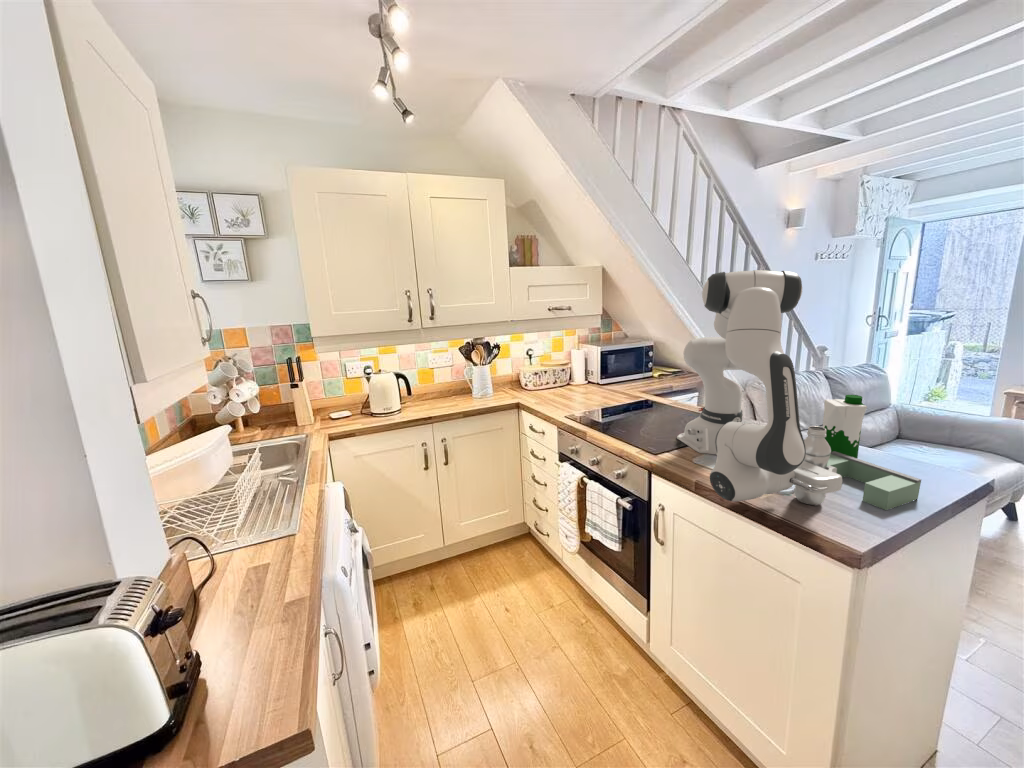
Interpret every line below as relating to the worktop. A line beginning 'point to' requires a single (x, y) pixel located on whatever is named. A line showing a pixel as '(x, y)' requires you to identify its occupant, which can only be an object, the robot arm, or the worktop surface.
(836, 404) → the milk carton
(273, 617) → the worktop surface
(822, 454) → the plastic bottle
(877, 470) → the green u-shaped bracket
